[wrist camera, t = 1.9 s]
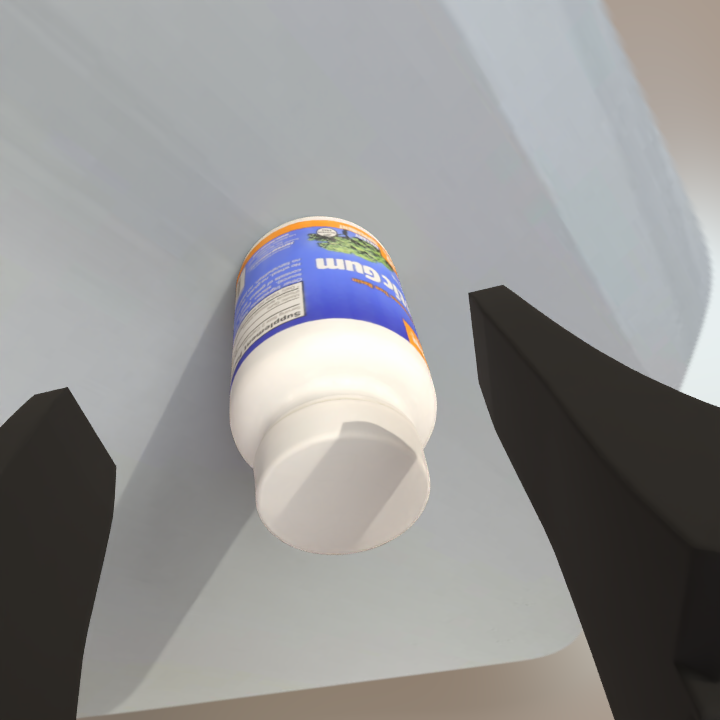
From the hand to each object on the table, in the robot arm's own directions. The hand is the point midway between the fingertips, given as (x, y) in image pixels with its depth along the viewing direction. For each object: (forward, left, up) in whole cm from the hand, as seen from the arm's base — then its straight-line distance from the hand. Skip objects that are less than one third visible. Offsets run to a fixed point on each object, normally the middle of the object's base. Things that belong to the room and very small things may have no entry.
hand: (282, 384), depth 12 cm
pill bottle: (-4, -1, -11) cm, 11 cm away
